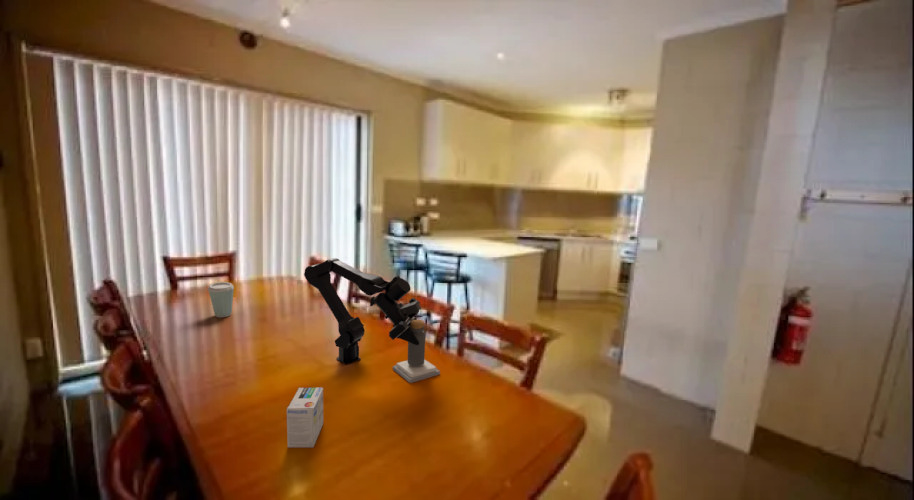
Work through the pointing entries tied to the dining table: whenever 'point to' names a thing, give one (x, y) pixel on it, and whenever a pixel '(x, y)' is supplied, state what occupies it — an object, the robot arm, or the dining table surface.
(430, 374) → the pedestal
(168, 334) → the dining table surface
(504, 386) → the dining table surface
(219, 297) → the disposable coffee cup
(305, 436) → the light bulb box
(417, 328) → the bottle
